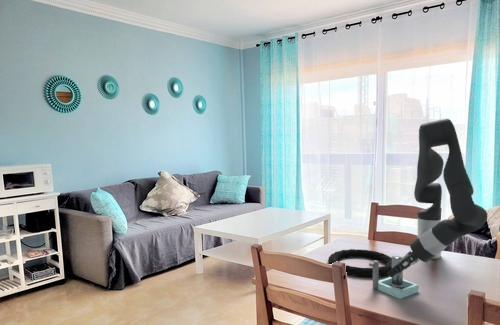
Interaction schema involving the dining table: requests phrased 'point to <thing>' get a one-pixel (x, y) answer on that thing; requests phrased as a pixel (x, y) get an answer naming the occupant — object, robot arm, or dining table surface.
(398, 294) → the teal rectangular frame
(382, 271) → the cable lock
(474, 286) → the dining table surface
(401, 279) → the pin
